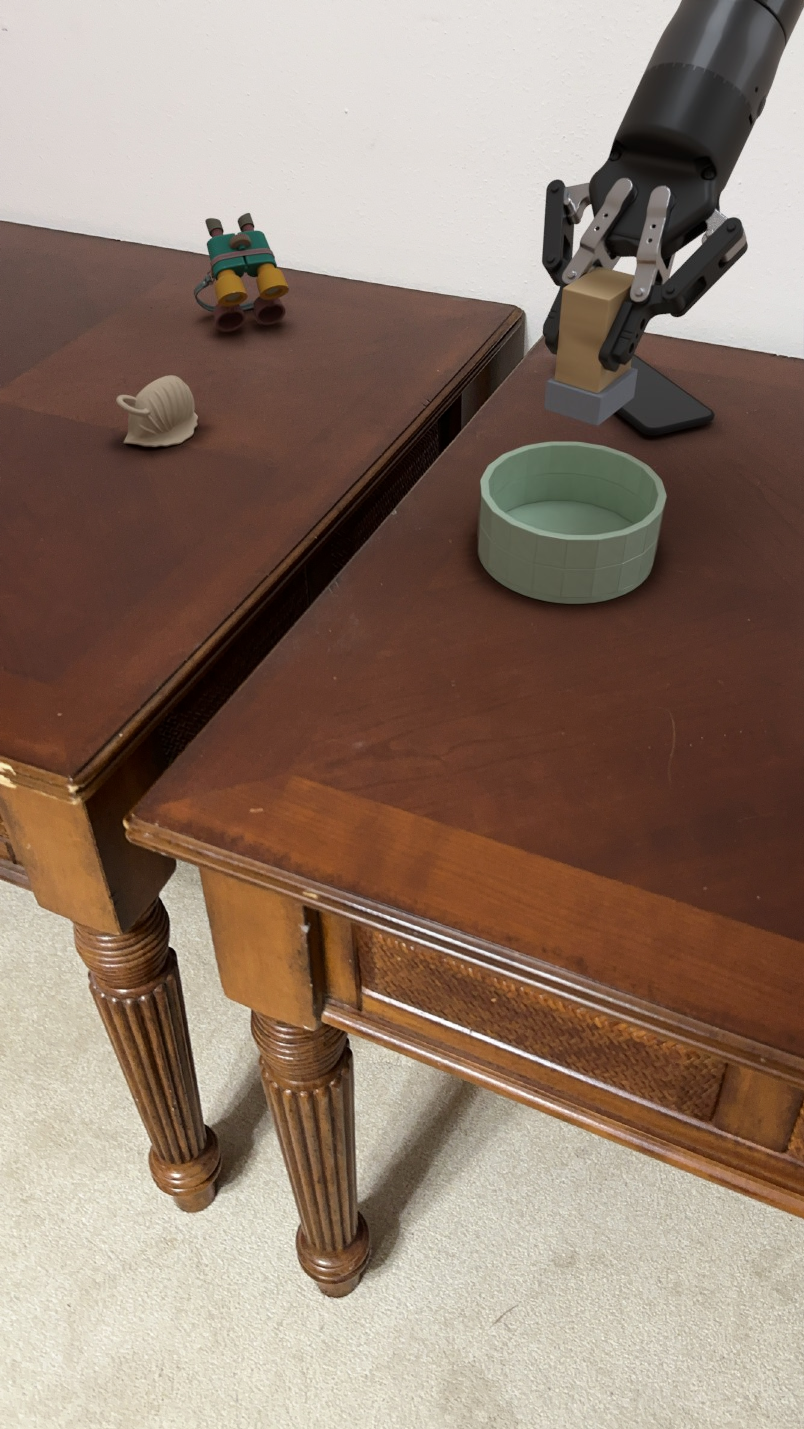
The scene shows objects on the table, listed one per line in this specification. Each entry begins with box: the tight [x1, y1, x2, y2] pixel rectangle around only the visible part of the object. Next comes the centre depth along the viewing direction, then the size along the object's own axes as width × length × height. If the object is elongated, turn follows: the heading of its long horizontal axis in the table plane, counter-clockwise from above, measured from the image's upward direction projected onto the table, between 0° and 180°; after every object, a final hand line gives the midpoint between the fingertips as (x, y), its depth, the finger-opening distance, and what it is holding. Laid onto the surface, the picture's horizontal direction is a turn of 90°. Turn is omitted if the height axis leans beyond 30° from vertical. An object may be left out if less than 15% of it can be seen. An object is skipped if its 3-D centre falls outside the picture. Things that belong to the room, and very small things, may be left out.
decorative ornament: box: [116, 374, 199, 448], centre depth 94 cm, size 4×8×5 cm, turn 140°
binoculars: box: [193, 212, 290, 333], centre depth 110 cm, size 9×9×10 cm
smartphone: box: [615, 353, 715, 437], centre depth 100 cm, size 7×1×15 cm
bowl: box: [476, 441, 668, 605], centre depth 81 cm, size 13×13×6 cm
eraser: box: [543, 266, 638, 427], centre depth 70 cm, size 5×4×8 cm
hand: (580, 356), depth 69 cm, fingers closed on eraser, 3 cm apart
